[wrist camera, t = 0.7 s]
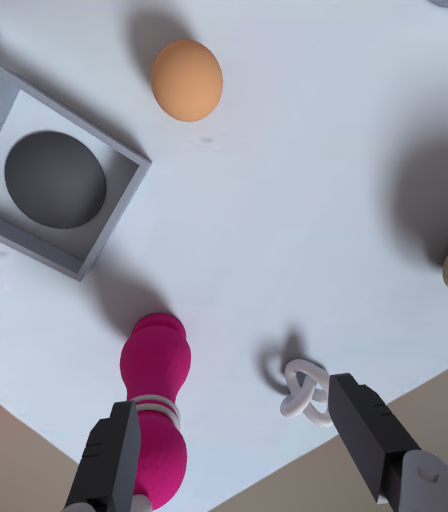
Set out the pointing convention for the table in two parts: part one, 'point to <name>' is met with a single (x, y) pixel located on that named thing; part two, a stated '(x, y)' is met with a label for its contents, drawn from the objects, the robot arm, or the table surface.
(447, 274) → the decorative mushroom
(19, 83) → the corral
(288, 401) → the knot
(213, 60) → the ball
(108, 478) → the robot arm
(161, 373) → the pepper mill
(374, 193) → the table surface
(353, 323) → the table surface
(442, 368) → the table surface
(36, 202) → the pad
